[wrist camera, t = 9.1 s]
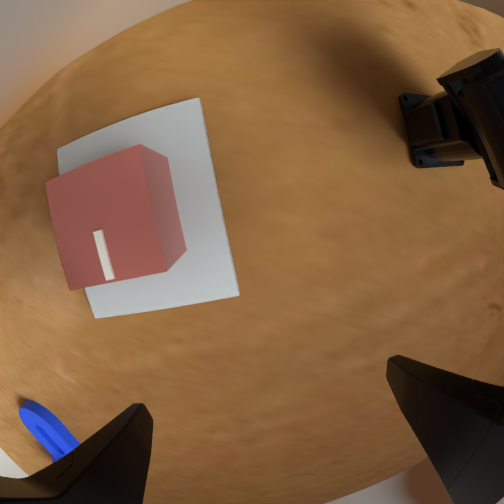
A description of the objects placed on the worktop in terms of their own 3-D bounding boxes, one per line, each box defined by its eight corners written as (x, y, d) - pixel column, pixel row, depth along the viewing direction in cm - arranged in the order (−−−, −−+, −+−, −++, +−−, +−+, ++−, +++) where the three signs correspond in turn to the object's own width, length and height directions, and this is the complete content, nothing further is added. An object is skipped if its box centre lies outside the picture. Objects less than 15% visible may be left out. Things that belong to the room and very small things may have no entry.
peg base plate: (201, 102, 17) (190, 77, 12) (239, 289, 20) (239, 316, 15) (64, 151, 17) (29, 144, 12) (101, 312, 20) (74, 338, 15)
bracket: (119, 480, 26) (106, 520, 17) (85, 475, 26) (70, 509, 18) (44, 399, 22) (12, 441, 14) (17, 399, 23) (-12, 433, 14)
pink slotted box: (167, 157, 17) (138, 143, 11) (187, 250, 18) (165, 272, 13) (89, 183, 17) (43, 182, 11) (107, 267, 18) (68, 291, 13)
